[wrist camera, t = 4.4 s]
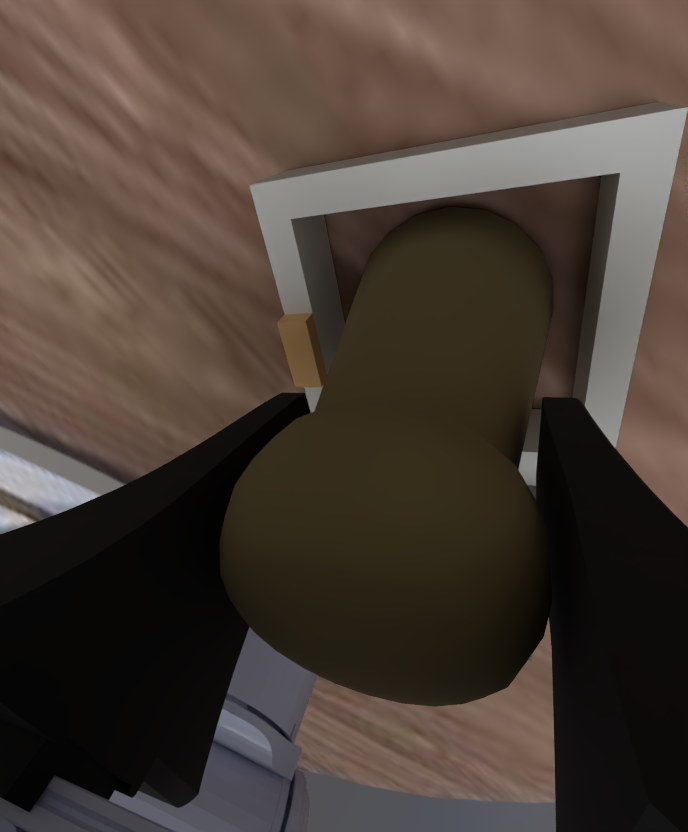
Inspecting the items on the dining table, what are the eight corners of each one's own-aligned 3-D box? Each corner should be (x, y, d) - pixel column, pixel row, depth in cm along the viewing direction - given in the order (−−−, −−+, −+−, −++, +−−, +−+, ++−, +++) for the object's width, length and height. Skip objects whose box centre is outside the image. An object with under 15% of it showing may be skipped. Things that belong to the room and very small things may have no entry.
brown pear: (328, 252, 14) (67, 527, 6) (527, 167, 11) (536, 491, 3) (398, 400, 17) (284, 719, 9) (571, 364, 14) (634, 797, 6)
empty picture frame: (369, 539, 24) (331, 653, 19) (286, 170, 14) (164, 218, 9) (573, 568, 20) (589, 716, 16) (658, 101, 10) (772, 121, 6)
